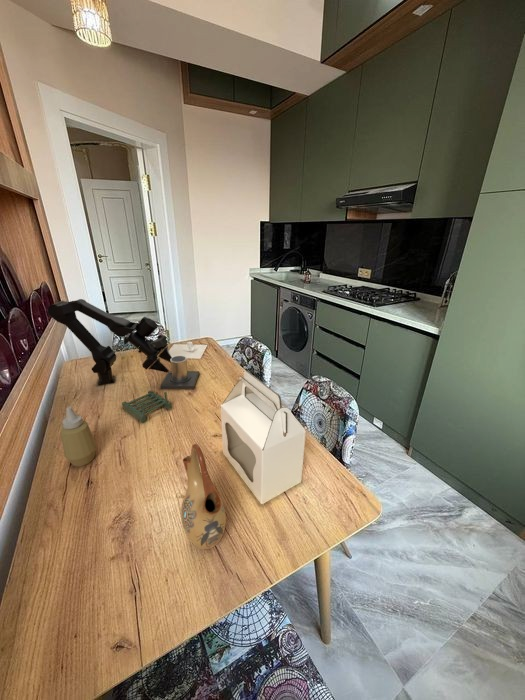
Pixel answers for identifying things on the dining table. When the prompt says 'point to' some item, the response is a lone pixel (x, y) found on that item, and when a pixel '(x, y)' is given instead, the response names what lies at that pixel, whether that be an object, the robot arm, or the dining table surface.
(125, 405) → the dish rack
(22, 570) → the dining table surface
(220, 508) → the ceramic vessel
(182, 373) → the steel pot
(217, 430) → the dining table surface
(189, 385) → the hob
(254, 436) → the gable box
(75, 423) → the squeeze bottle
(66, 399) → the dining table surface
